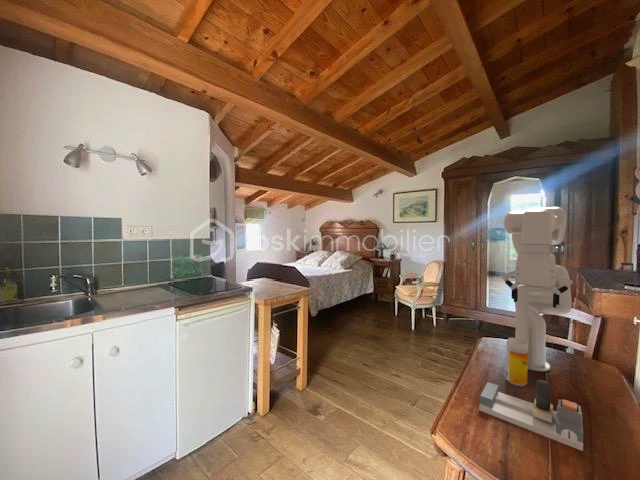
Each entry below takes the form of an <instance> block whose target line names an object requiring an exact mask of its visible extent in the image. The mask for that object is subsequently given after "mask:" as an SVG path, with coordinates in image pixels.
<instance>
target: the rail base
mask: <svg viewBox="0 0 640 480" xmlns="http://www.w3.org/2000/svg"><path fill="white" fill-rule="evenodd" d="M499 387H500V386H499V384H495V383H493V382H489V381H487V383H486V384H485V386H484V388H483V389H482V391H481V394H480V395H479V396H480V399H479V401H480V402H479V405H478V406H479V407H478V408H479V409H478V411H480V412H483V413H485V414H488V415H490V416H493V417H495V418H498V419H500V420H503V421H506V422H508V423H509V424H510V423H511V424H513V425H515V426H518V427H520V428H524V429H525V430H529V431H531V432H533V433H536V434H538V435H541V436H543V437H546V438H548V439H551V440H553V441H556V442H558V443H561V444H563V445H566V446H569V447H572V448H573V449H577V450H579V451H581V452H584V426H583V425H584V424H583V412H582V406H581V405H578V404H577V412H575V411H572V410H569V409H566V408H563V407H562V399H558V402H557V405H556V410H554V409H553V416H552V423H551V422H548V421H545V420H542V419H540V418H537V417H534V416H532V412H533V406H534V402H530V401H527V400H524V399H521V398H519V397H514V396H513V395H509V394H506V393H503V392H501V391H499Z"/></svg>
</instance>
